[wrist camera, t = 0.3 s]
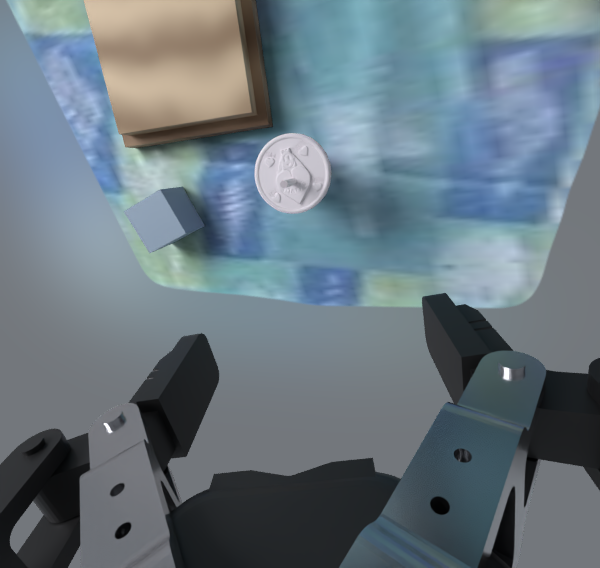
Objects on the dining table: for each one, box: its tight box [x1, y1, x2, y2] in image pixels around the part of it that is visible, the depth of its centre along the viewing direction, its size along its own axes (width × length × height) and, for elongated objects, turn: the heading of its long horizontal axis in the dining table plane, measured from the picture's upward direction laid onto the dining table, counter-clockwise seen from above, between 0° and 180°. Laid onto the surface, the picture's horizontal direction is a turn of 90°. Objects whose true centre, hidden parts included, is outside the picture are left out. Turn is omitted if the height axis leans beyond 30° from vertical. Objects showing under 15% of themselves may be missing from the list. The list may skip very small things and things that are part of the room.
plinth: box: [84, 0, 273, 148], centre depth 33 cm, size 16×16×4 cm
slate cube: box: [124, 187, 205, 253], centre depth 39 cm, size 5×5×5 cm
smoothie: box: [255, 133, 332, 214], centre depth 30 cm, size 6×6×14 cm
